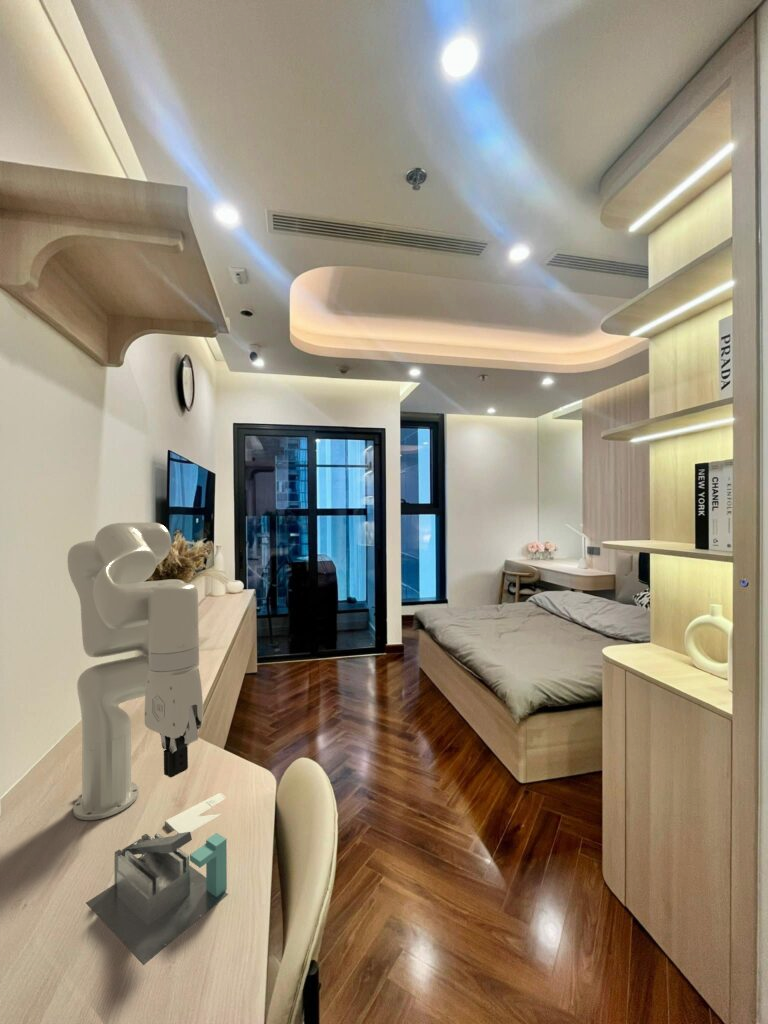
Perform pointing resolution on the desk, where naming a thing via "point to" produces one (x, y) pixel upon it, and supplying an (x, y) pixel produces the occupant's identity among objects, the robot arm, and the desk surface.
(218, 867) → the clip
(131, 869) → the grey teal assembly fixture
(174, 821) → the external hard drive
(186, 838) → the dark grey flat bar
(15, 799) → the desk surface
